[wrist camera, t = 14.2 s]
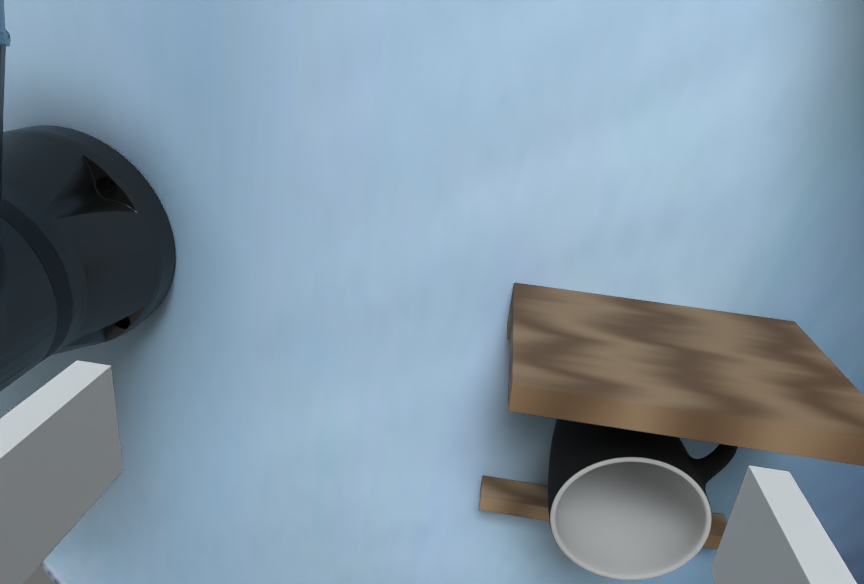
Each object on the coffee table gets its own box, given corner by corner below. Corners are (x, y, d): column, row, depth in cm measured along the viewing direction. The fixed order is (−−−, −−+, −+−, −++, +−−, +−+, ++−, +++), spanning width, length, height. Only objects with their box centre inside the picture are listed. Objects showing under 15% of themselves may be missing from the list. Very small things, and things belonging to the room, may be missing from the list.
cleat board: (480, 487, 49) (468, 636, 37) (514, 282, 42) (512, 384, 30) (719, 527, 47) (786, 694, 36) (794, 321, 41) (908, 444, 29)
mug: (577, 488, 48) (592, 599, 39) (520, 396, 45) (521, 492, 36) (735, 428, 44) (793, 535, 35) (682, 325, 42) (729, 411, 32)
